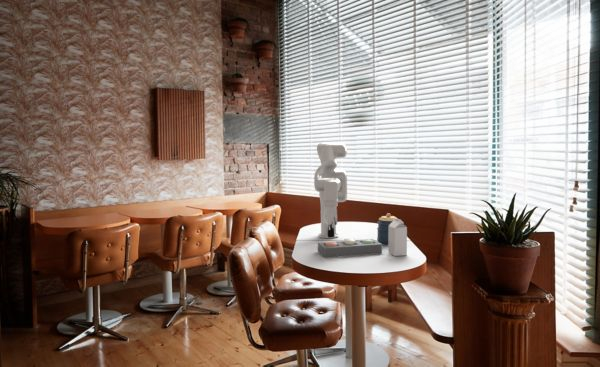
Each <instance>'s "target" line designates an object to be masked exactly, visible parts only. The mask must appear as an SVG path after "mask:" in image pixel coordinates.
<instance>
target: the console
mask: <svg viewBox="0 0 600 367" xmlns="http://www.w3.org/2000/svg"><path fill="white" fill-rule="evenodd" d="M370 239H371V240H373V243H372V244H363V243H362V240H363V239H355V245H344V240H339V241H336V240H335V242H336V243H337V246H330V247H326V246H325V243H326V242H327V241H325V242H323V241H322V242H317V252H318V254H320V255H321V256H322V257H323V258H324V259H325V258H327V259H328V258H337V257H338V258H339V257H340V256H341V257H352V256H364V255H365V254H367V255H376V254H378V255H379V254H380V255H381V254H383V244H381V243H379V242H378V241H377V240H375V239H373V238H370ZM365 256H366V255H365Z"/></svg>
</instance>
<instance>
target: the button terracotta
mask: <svg viewBox="0 0 600 367" xmlns="http://www.w3.org/2000/svg"><path fill="white" fill-rule="evenodd" d="M325 242H326V243H325V246H326V247H330V246H337V243H336V241H325Z"/></svg>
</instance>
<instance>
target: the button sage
mask: <svg viewBox="0 0 600 367" xmlns="http://www.w3.org/2000/svg"><path fill="white" fill-rule="evenodd" d="M371 239H372V238H367V239H365V238H364V239H361V240H362V243H363V244H372V243H373V240H374V239H373V240H371Z"/></svg>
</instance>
